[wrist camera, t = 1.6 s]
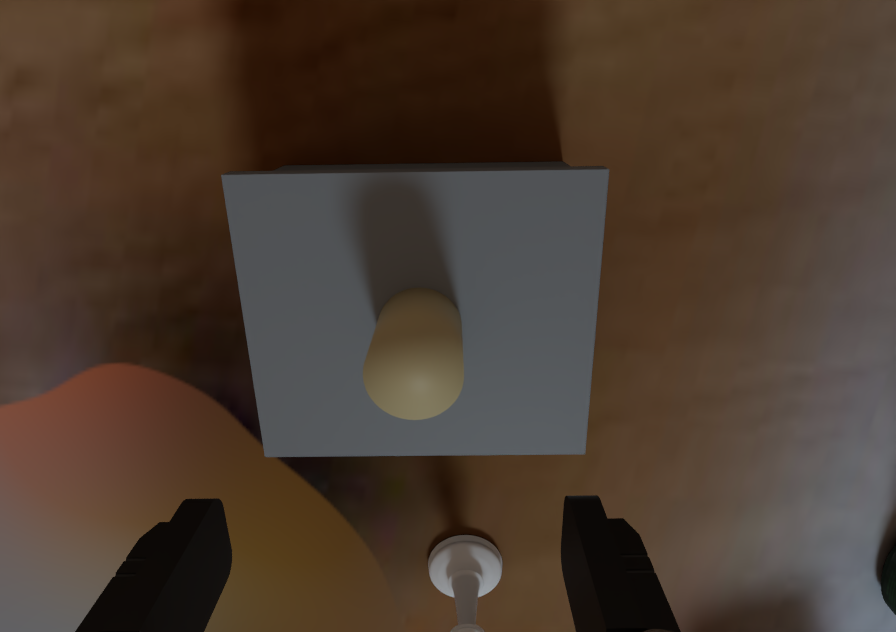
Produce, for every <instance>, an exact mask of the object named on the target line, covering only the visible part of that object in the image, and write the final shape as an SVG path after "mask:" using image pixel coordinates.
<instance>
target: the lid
mask: <svg viewBox="0 0 896 632" xmlns="http://www.w3.org/2000/svg"><path fill="white" fill-rule="evenodd" d="M221 177H222V183H223V189H224V196H225V202H226V209H227V215H228V222H229V228H230V235H231V241H232V247H233V254H234V260H235V267H236V273H237V280H238V286H239V293H240V299H241V305H242V312H243V318H244V325H245V331H246V338H247V344H248V351H249V357H250V363H251V370H252V376H253V383H254V389H255V396H256V402H257V409H258V415H259V421H260V428H261V434H262V441H263V447H264V454H265V457H316V456H433V455H549V454H585V448H586V436H587V425H588V413H589V401H590V389H591V378H592V366H593V354H594V342H595V330H596V319H597V307H598V295H599V283H600V272H601V260H602V248H603V236H604V225H605V213H606V201H607V189H608V178H609V169H608V168H606V167H604V166H575V167H506V168H437V169H367V170H298V171H230V172H228V173H225V174H222V175H221Z"/></svg>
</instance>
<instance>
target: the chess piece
mask: <svg viewBox="0 0 896 632" xmlns="http://www.w3.org/2000/svg"><path fill="white" fill-rule="evenodd" d="M428 568H429V575H430V578H431V581H432V582H433V584H434V585H435V587H436V588H437V589H438V590H440V591H441V592H442V593H444V594H446V595H448V596H451V597H454V598H455V604H456V611H457V617H458V625H457V626H455V627H454V628H453V629H452V630H451V631H450V632H484V630H483V629H482V628H481V627H480V626H478V625H476V610H477V600H478V597H480V596H483V595H485V594H487V593H488V592H490V591H491V590H492V589H493V588H494V587H495V586H496V585H497V584H498V582H499V580H500V578H501V574H502V558H501V555H500V553H499V551H498V549H497V548H496V547H495V546H494V545H493V544H492V543H490V542H489V541H487V540H485V539H483V538H481V537H477V536H473V535H458V536H453V537H450V538H448V539H445V540H444V541H442V542H440V543H439V544H438V545H437V546H436V547H435V548H434V549H433V550H432V552H431V554H430V556H429V560H428Z"/></svg>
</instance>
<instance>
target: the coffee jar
mask: <svg viewBox="0 0 896 632" xmlns="http://www.w3.org/2000/svg"><path fill="white" fill-rule="evenodd" d="M881 591H882V595H883V599H884V601H885V603H886V604H887V605H888V607H889V608H890V609H891V610H892V611H893V612H894V614H895V615H896V545H895V547H894V548H893V550H892V551H891V552H890V553H889V555H888V557H887V559H886V562H885V564H884V567H883V572H882V578H881Z"/></svg>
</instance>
